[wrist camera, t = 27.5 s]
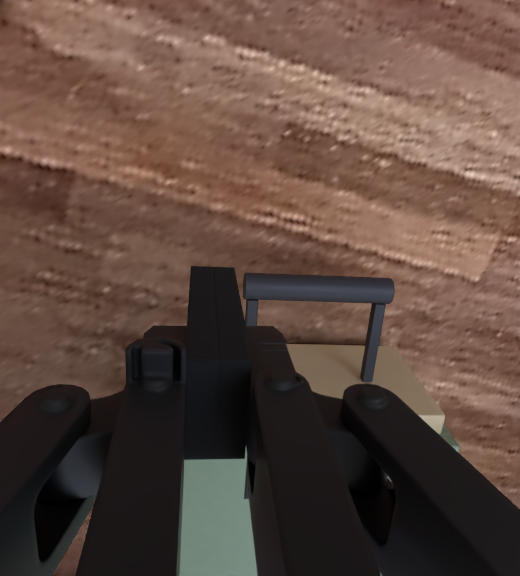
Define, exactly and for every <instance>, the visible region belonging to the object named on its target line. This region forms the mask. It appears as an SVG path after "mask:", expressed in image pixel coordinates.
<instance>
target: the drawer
mask: <svg viewBox="0 0 520 576" xmlns="http://www.w3.org/2000/svg"><path fill="white" fill-rule="evenodd" d="M243 298H244V299H246V314H245V326H257V313H258V300H286V301H317V302H348V303H372V307H371V313H370V319H369V325H368V331H367V337H366V343H365V346H359V345H314V344H286V345H287V348H288V352H289V354H290V357H291V360H292V362H293V365H294V368H295V371H296V372H297V373H299V374H301V375H302V376H304V377H305V378H306V380H307V381H308V382H309V385H310V387H311V390H312V391H313V392H316V393H318V394H322V395H326V396H330V397H335V398H340V399H343V393H344V390H345V389H346V388H347V387H349V386H351V385H355V384H366V383H368V384H372V385H373V384H375V385H379V386H380V387H383V388H386V389H388V390H390V391H391V392H393V393H394V394H396V395H397V396H398V397H399V398H400V399H401V400H402V401H403V402H405V403H406V404H407V405H408V406H409V407H410V408H411V409H412V410H413V411H414V412H415V413H416V414H417V415H418V416H420V417H421V418H422V419H423V420H424V421H425V422H426V423H427V424H428V425H429V426H430V427H431V428H432V429H434V430H435V431H436V432H437V433H438V434H441V431H442V427H443V423H444V419H445V415H444V413H443V412H442V411H441V409H440V408H439V407H438V405H437V404H436V403H435V401H434V400H433V399H432V397H431V396H430V395H429V393H428V392H427V391H426V389H425V388H424V387H423V385H422V384H421V383H420V381H419V380H418V378H417V377H416V376H415V374H414V373H413V372H412V370H411V369H410V368H409V366H408V365H407V364H406V362H405V361H404V360H403V358H402V357H401V356H400V354H399V353H398V352H397V350H396V349H395V348H394V347H393V346H379V341H380V335H381V329H382V324H383V318H384V312H385V307H386V305H385V304H390V303H391V302H392V300H393V298H394V283H393V280H392V279H390V278H371V277H345V276H319V275H293V274H267V273H245V274H244V279H243Z"/></svg>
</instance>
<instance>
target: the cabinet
mask: <svg viewBox="0 0 520 576" xmlns="http://www.w3.org/2000/svg"><path fill="white" fill-rule="evenodd" d="M439 435H440V436H441V437H442V438H443V439H444V440H445V441H446V442H448V443H449V444H450V445H451V446H452V447H453V448H454V449H455V450H456V451H457V452H458V451H459V445H458V443H457V442H456V440H455V439H454V438H453V436H451V434H450V432H449V431H448V429H447V428H446V427H445V425H444V424H443V427H442V431H441V434H439ZM246 465H247V449H246V450H245V459H205V460H184V483H183V506H182V529H181V551H180V574H179V576H257V567H256V558H255V549H254V541H253V532H252V523H251V515H250V506H249V499H244V490H245V477H246ZM388 478H389V477H388ZM389 480H390V478H389ZM390 481H391V480H390ZM380 574H381V573H380ZM381 576H382V575H381Z"/></svg>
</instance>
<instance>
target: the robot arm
mask: <svg viewBox="0 0 520 576" xmlns="http://www.w3.org/2000/svg"><path fill="white" fill-rule="evenodd" d="M125 352H126V386H125V389H124V390H122V391H121V392H119V393H116V394H114V395H111V396H107V397H104V398H98V399H93V400H90V396H89V393H88V392H87V391H86V390H85V389H83V388H82V387H78V386H75V385H63V384H58V385H52V386H47V387H45V388H42V389H39V390H37V391H35V392H33V393H32V394H30V395H29V396H27V397H26V398H25V399H24V400H23V401H22V402H21V403H20V404H19V405H18V406H17V407H16V408H15V409H14V410H13V411H11V412H10V413H9V414H8V415H7V416H6V417H5V418H4V419H3V420H2V421H1V422H0V576H52V574H53V573H54V571H55V569H56V568H57V566H58V564H59V563H60V561H61V559H62V557H63V556H64V554H65V552H66V551H67V549H68V547H69V546H70V544H71V542H72V540H73V539H74V537H75V535H76V534H77V532H78V530H79V529H80V527H81V525H82V523H83V522H84V520H85V518H86V517H87V515H88V513H89V512H90V510H91V508H92V506H93V504H94V501H95V504H94V507H93V511H92V515H91V519H90V523H89V526H88V530H87V534H86V538H85V542H84V545H83V549H82V553H81V557H80V561H79V564H78V568H77V572H76V576H179V574H180V551H181V529H182V506H183V483H184V460H205V459H245V450H246V449H247V465H246V477H245V490H244V499H249V506H250V515H251V523H252V532H253V541H254V549H255V558H256V567H257V576H381V575H382V576H520V509H518V508H517V507H516V506H515V505H514V504H513V503H512V502H511V501H510V500H509V499H508V498H507V497H506V496H504V495H503V494H502V493H501V492H500V491H499V490H498V489H497V488H496V487H495V486H494V485H493V484H492V483H490V482H489V481H488V480H487V479H486V478H485V477H484V476H483V475H482V474H481V473H480V472H479V471H478V470H477V469H475V468H474V467H473V466H472V465H471V464H470V463H469V462H468V461H467V460H466V459H465V458H464V457H463V456H461V455H460V454H459V453H458V452H457V451H456V450H455V449H454V448H453V447H452V446H451V445H450V444H449V443H448V442H446V441H445V440H444V439H443V438H442V437H441V436H440V435H439V434H438V433H437V432H436V431H435V430H434V429H432V428H431V427H430V426H429V425H428V424H427V423H426V422H425V421H424V420H423V419H422V418H421V417H420V416H418V415H417V414H416V413H415V412H414V411H413V410H412V409H411V408H410V407H409V406H408V405H407V404H406V403H405V402H403V401H402V400H401V399H400V398H399V397H398V396H397V395H396V394H394V393H393V392H391V391H390V390H388V389H386V388H383V387H380V386H379V385H375V384H373V385H372V384H368V383H366V384H355V385H351V386H349V387H347V388H346V389H345V390H344V393H343V399H340V398H335V397H330V396H326V395H322V394H318V393H316V392H313V391H312V390H311V387H310V385H309V382H308V381H307V380H306V378H305V377H304V376H302V375H301V374H299V373H297V372H296V371H295V368H294V365H293V362H292V360H291V357H290V354H289V352H288V348H287V345H286V342H285V339H284V337H283V334H282V333H281V332H279V331H278V330H277V329H276V328H274V327H273V326H245V320H244V315H243V310H242V305H241V300H240V295H239V290H238V285H237V280H236V274H235V269H234V268H229V267H199V266H191V275H190V290H189V305H188V321H187V326H153V327H151V328H150V329H149V330H148V331H147V332H145V333H144V337H143V339H139V340H136V341H135V342H133V343H131V344H129V346H128V347H127V348H126V350H125ZM388 477H389V478H390V480H391V481H390V480H389V478H388ZM96 495H97V496H96ZM95 498H96V500H95ZM380 573H381V574H380Z"/></svg>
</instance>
